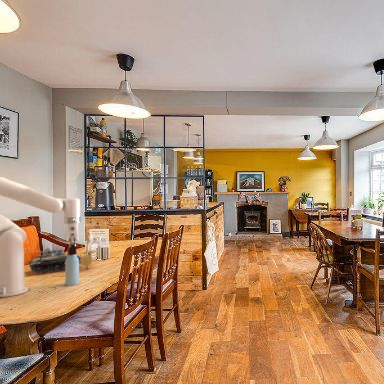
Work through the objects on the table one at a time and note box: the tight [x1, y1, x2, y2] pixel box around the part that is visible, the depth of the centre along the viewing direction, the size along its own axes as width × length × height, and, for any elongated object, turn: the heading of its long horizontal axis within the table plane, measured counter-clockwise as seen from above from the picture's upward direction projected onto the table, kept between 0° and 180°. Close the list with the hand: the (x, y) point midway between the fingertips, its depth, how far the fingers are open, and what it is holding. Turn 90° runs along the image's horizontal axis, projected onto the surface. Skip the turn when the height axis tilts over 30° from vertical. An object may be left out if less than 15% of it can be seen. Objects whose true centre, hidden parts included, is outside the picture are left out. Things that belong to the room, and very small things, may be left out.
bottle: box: [64, 253, 80, 287], centre depth 156 cm, size 6×6×20 cm
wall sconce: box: [80, 230, 98, 270], centre depth 187 cm, size 14×10×25 cm
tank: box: [25, 247, 83, 275], centre depth 185 cm, size 16×31×15 cm, turn 132°
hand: (72, 252), depth 157 cm, fingers open, 5 cm apart
